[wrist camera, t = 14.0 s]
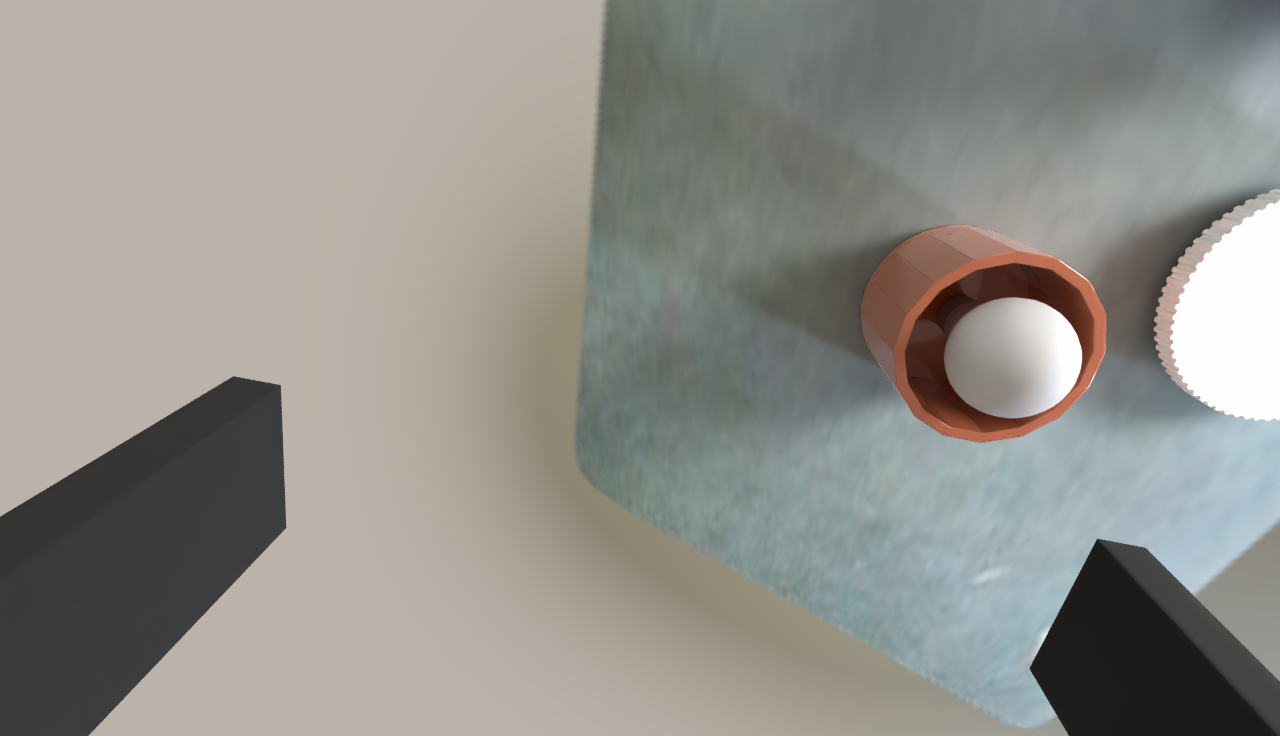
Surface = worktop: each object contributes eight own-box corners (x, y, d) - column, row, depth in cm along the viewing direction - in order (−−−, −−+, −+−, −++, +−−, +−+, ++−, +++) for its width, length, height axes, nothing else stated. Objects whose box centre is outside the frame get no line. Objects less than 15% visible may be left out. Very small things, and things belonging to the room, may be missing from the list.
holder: (829, 286, 42) (858, 326, 35) (987, 189, 39) (1055, 210, 32) (907, 411, 45) (949, 473, 38) (1060, 329, 42) (1138, 378, 35)
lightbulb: (1016, 265, 40) (1126, 322, 30) (993, 360, 42) (1088, 443, 32) (912, 260, 40) (985, 315, 30) (894, 355, 43) (957, 435, 33)
